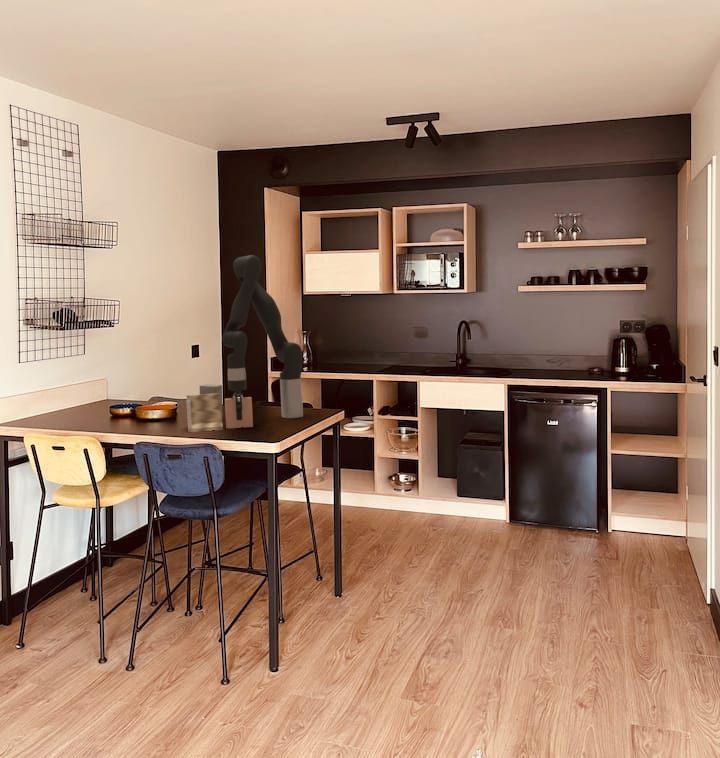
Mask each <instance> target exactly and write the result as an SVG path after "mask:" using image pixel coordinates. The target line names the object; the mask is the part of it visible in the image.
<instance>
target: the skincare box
mask: <svg viewBox="0 0 720 758" xmlns="http://www.w3.org/2000/svg"><path fill="white" fill-rule="evenodd" d="M218 393H220V395H221V412H222V413H223V385H222V384H207V383H205V384H201V385H199V395H201V394H218Z"/></svg>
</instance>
